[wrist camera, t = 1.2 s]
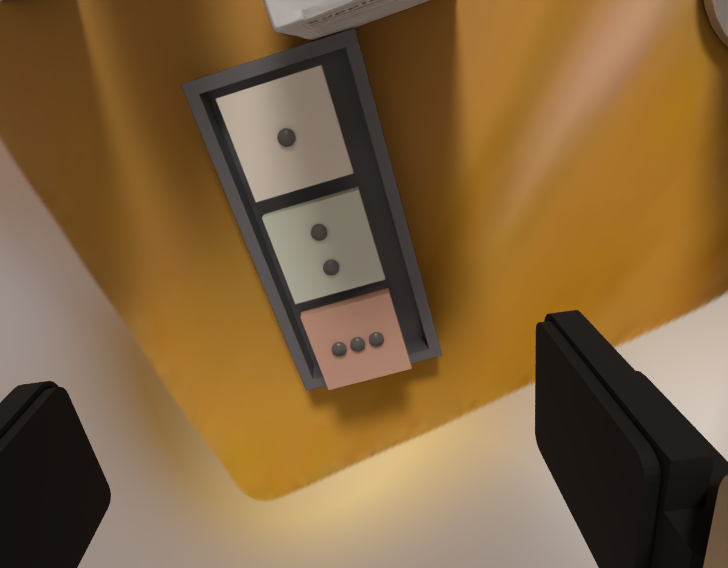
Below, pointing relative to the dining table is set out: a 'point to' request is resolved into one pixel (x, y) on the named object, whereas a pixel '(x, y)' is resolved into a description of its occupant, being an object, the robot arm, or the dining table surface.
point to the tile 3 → (356, 336)
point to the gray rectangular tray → (321, 190)
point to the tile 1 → (286, 134)
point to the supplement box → (329, 15)
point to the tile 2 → (324, 245)
